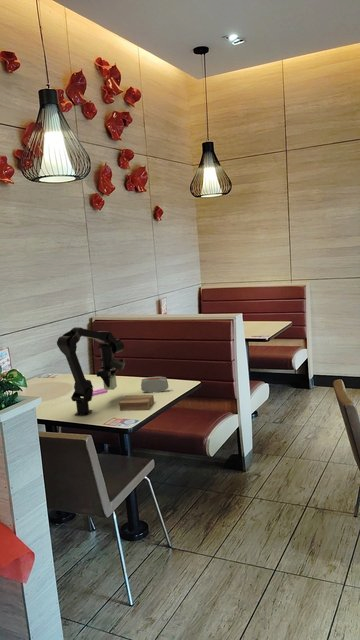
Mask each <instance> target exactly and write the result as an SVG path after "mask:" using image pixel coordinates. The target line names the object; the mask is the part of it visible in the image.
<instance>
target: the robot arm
mask: <svg viewBox="0 0 360 640" xmlns="http://www.w3.org/2000/svg"><path fill="white" fill-rule="evenodd" d="M81 337H84V338H89V339H93V340H94V341H96V342H99V343H98V345H97V346H96V349H98V350H100V355H101V356H100V357H101V358H100V359H99V360H100V362H101V365H102V366H100V368H101V369H98V371H97V372H95V373H96V377H97V378H101V379H102V382H103V381H104V383H105V384H106V386H107V387H110V377H111V376H112V375H116V373H117V372H118V371H122V370H124V368H125V365H126V361H125V359H124V358H120V359H116V358H115V356H114V354H118V353H120V352H123V351H124V350H125V345H124V342H123V341H121V338H115V337H114V335H113V332H112V331H107V330H106V331H105V330H104V331H103V330H100V331H98V330H92V329H89V328H88V329H87V328H83V327H81V326H79V327H78V326H75V327H73V328H71V330H69V331H67V332H65V333H63V334H62V335H61V336H59V337H58V338H57V341H56V345H57V348H59V349H58V350H59V351H60V352H61V353H62V354H63V355H64V356H65V357H66V358H65V359H66V361H67V364H68V366H69V368H70V372H71V374H72V377H73V380H74V385H73V388H74V392H73V393H72V395H71V397H70V399H71V400H72V402H75V405H76V412H75V414H74V416H88V415H89V414H90V413H92V411H93V410H92V409H90V407H89V402H91V401H93V396H92V394H93V391H94V386H93V384H92V380H91V379H86V378H85V377H86V376H85V374H84V372H83V369H82V366H81V364H80V361H79V358H78V354H77V353H76V352H77V347H78V346H77V344H78V343H79V342H80V340H81ZM104 383H103V384H104Z"/></svg>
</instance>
